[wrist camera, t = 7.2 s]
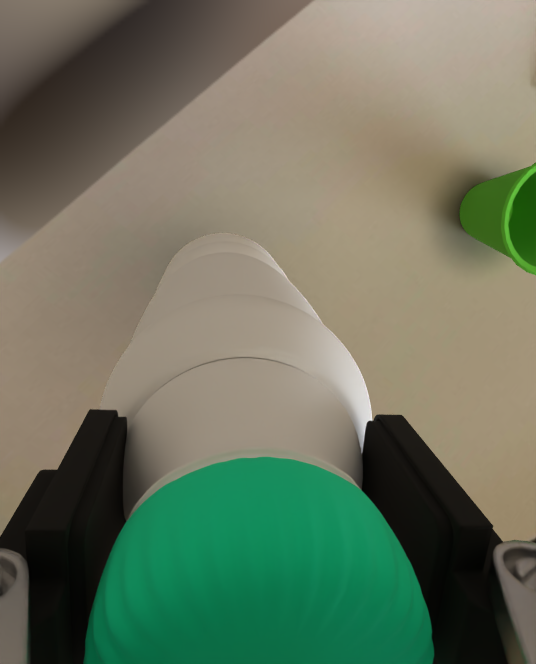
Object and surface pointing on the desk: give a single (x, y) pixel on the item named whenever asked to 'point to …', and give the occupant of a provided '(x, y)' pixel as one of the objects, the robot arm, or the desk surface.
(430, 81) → the desk surface
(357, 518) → the water bottle
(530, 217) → the cup
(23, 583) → the robot arm
